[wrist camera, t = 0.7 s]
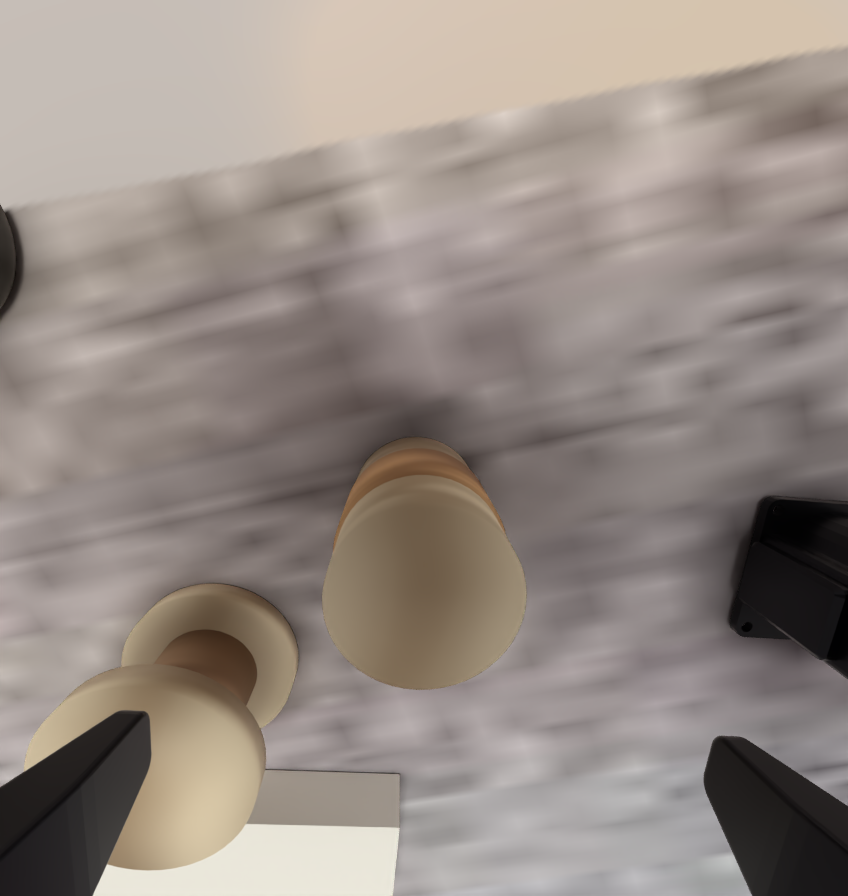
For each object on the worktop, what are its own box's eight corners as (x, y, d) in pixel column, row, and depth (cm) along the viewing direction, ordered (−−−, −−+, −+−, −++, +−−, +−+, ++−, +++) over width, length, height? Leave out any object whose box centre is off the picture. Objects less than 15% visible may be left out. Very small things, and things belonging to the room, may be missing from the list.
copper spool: (484, 439, 19) (545, 509, 11) (469, 557, 20) (515, 696, 12) (355, 429, 18) (322, 492, 10) (348, 550, 19) (313, 688, 12)
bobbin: (301, 588, 20) (258, 692, 14) (295, 726, 21) (255, 872, 15) (131, 578, 19) (12, 681, 13) (138, 720, 21) (34, 868, 15)
